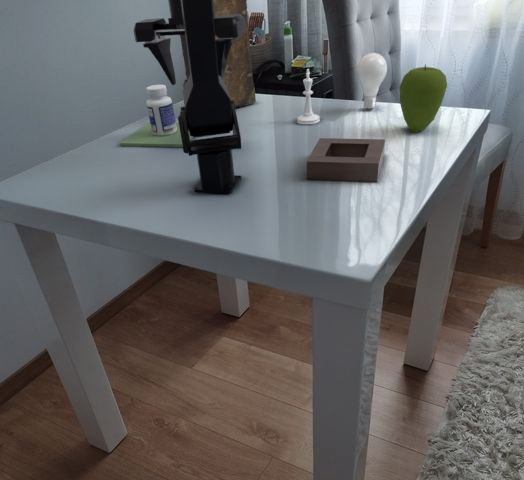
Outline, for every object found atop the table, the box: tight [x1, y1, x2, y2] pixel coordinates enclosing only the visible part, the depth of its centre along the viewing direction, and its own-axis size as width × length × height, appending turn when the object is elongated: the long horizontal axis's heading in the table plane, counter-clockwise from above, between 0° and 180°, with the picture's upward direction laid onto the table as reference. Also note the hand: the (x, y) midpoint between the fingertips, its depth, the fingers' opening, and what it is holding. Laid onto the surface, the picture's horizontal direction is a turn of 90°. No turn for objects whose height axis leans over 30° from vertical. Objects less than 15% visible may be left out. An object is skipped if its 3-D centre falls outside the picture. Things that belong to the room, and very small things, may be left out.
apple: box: [399, 63, 448, 133], centre depth 96 cm, size 9×8×12 cm
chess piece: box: [296, 68, 320, 125], centre depth 106 cm, size 5×5×10 cm
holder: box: [306, 137, 386, 183], centre depth 86 cm, size 12×12×3 cm
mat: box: [119, 121, 194, 148], centre depth 108 cm, size 14×14×1 cm
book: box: [179, 0, 257, 109], centre depth 113 cm, size 17×7×25 cm, turn 126°
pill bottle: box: [145, 84, 177, 136], centre depth 105 cm, size 5×5×9 cm
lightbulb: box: [356, 52, 388, 111], centre depth 109 cm, size 6×6×11 cm
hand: (197, 83), depth 92 cm, fingers open, 9 cm apart
